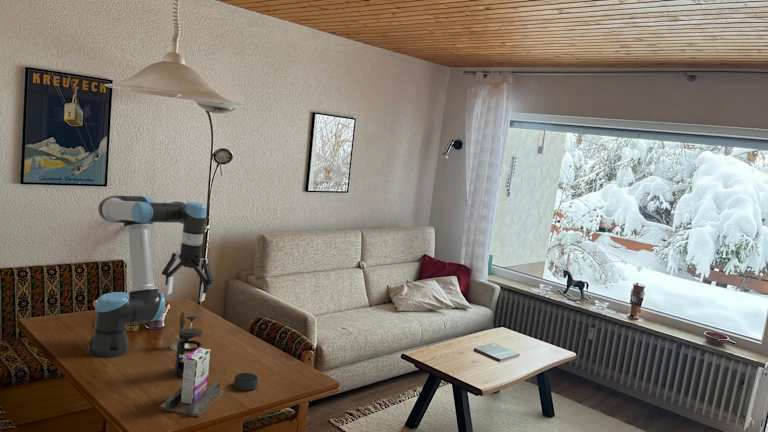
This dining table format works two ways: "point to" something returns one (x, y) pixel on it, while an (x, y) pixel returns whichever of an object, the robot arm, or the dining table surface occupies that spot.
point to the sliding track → (197, 406)
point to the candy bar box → (195, 375)
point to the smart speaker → (246, 381)
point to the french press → (185, 338)
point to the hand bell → (174, 345)
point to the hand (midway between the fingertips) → (185, 297)
